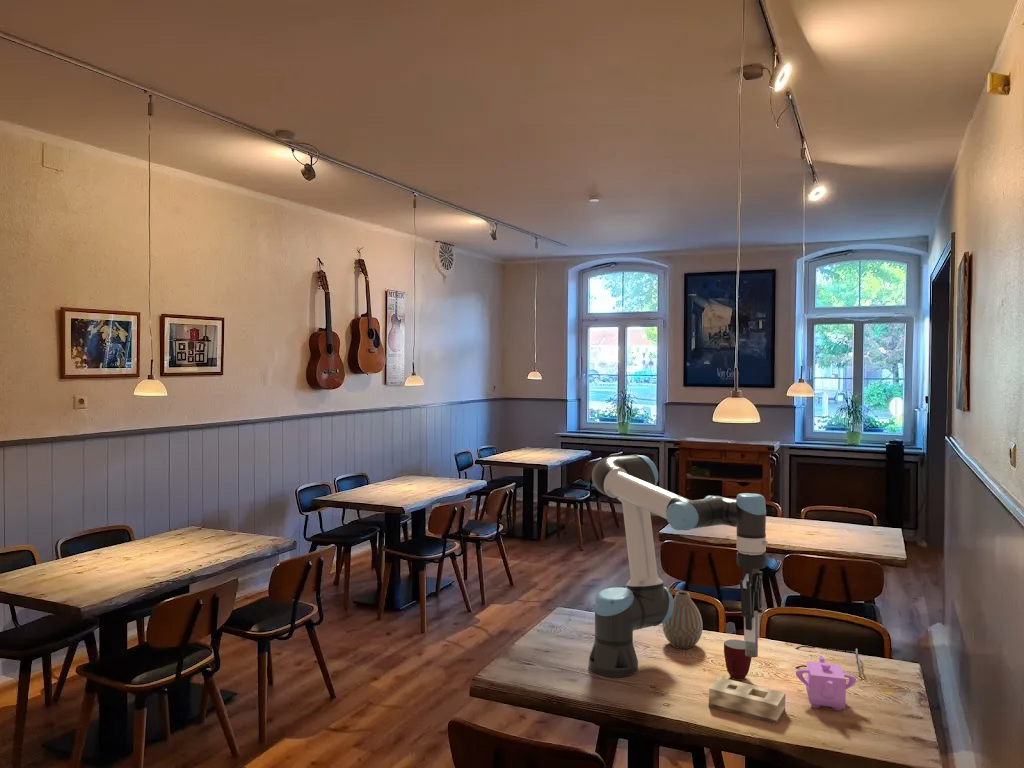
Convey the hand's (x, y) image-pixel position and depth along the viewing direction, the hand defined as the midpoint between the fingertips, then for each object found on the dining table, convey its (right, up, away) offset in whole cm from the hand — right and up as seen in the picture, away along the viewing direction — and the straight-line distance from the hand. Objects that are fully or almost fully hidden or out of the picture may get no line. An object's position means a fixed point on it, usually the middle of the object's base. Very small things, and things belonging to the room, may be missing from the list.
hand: (751, 638), depth 196 cm
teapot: (+22, -20, +5) cm, 30 cm away
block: (-1, -19, +1) cm, 20 cm away
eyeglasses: (+35, -20, +34) cm, 53 cm away
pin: (0, -4, 0) cm, 4 cm away
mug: (+2, -19, +21) cm, 28 cm away
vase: (-8, -19, +48) cm, 52 cm away
